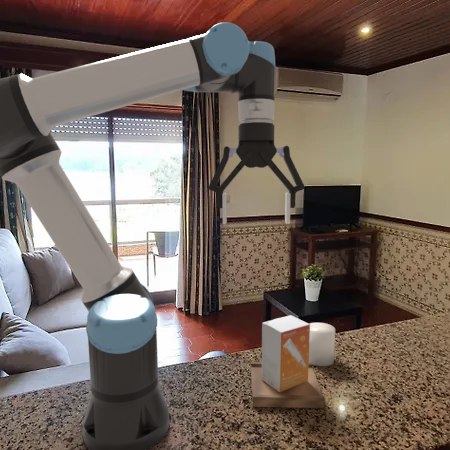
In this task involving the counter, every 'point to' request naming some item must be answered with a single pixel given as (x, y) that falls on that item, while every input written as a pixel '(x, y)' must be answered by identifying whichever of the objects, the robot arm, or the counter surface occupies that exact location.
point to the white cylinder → (321, 344)
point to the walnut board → (285, 392)
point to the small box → (285, 352)
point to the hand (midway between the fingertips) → (255, 223)
